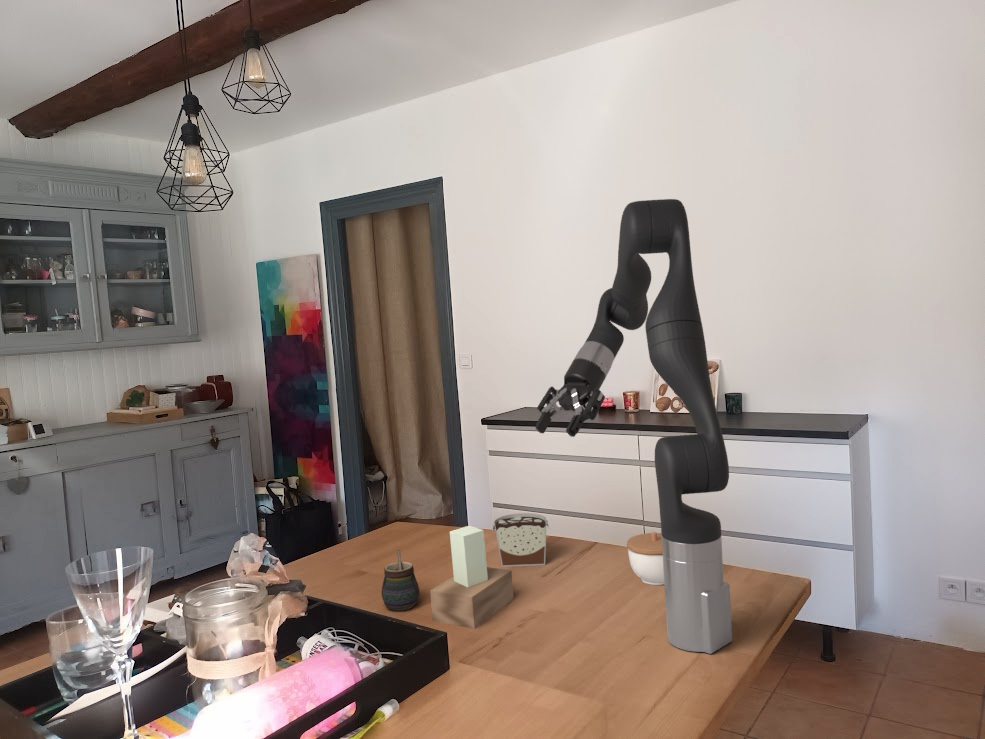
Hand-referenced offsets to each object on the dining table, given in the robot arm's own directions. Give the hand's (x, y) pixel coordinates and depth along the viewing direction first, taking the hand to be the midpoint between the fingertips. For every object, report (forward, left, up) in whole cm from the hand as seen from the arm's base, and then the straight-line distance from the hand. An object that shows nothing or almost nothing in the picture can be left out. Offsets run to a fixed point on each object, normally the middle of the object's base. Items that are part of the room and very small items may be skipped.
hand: (554, 432), depth 146 cm
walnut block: (+4, +20, -31) cm, 37 cm away
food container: (+16, -4, -31) cm, 35 cm away
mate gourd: (+16, +28, -31) cm, 45 cm away
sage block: (+3, +21, -25) cm, 32 cm away
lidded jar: (-13, -13, -31) cm, 36 cm away
